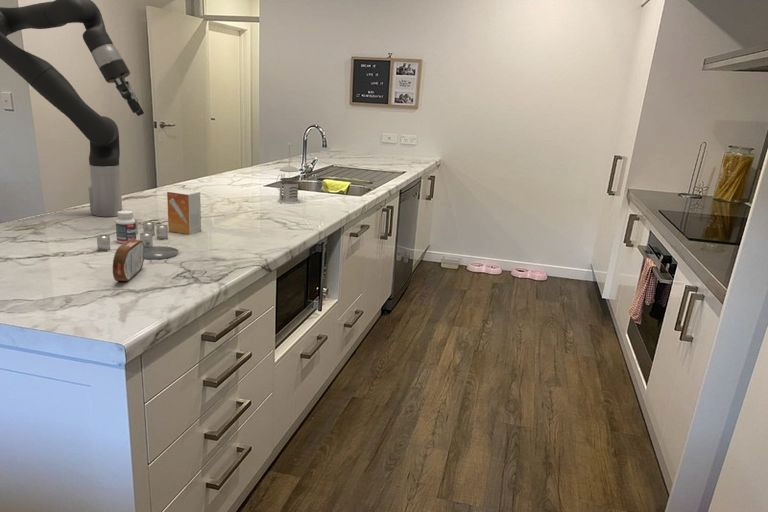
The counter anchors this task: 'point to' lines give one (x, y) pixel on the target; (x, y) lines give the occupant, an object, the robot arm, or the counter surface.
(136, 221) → the cylinder
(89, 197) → the robot arm
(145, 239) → the cylinder
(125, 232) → the pill bottle
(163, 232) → the cylinder
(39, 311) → the counter surface
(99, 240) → the spacer near
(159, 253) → the coaster
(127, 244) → the tin
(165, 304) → the counter surface
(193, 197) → the small box
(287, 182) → the french press
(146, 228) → the cylinder
